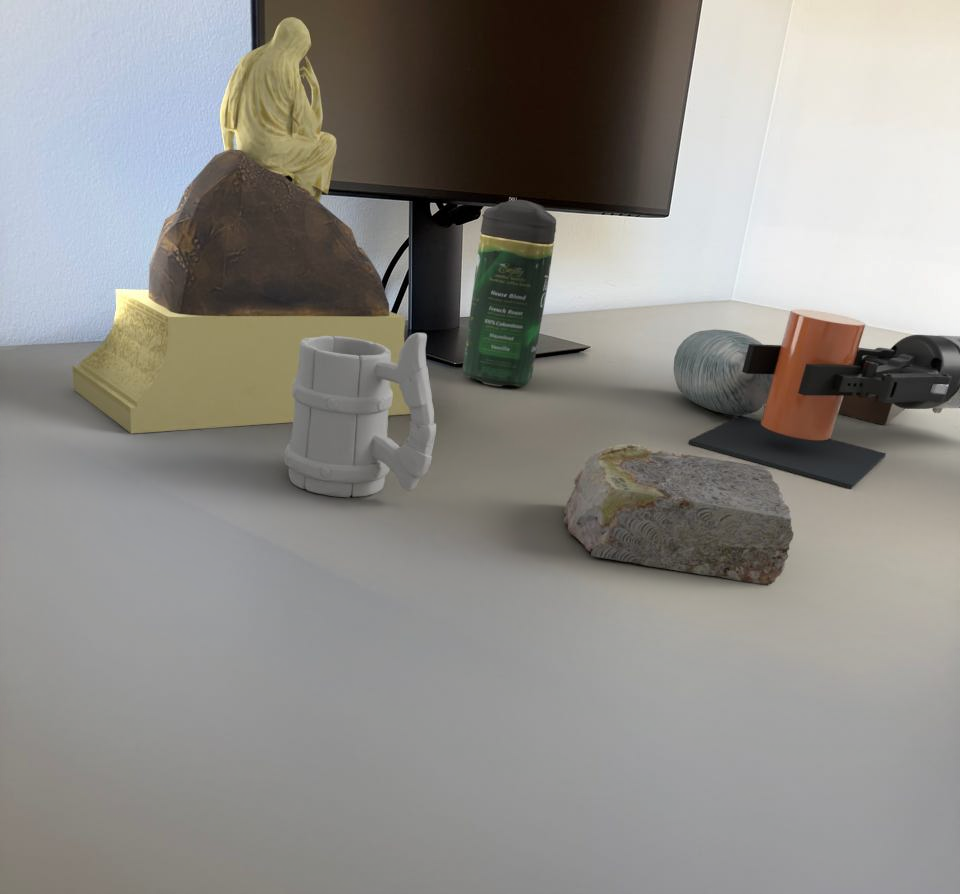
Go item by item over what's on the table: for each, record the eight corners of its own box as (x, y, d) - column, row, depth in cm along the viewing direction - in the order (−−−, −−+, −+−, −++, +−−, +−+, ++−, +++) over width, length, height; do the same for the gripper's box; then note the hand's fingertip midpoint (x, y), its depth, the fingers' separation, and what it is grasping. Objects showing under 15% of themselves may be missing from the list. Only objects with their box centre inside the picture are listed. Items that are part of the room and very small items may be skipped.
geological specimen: (813, 519, 63) (587, 475, 62) (782, 601, 66) (565, 561, 65) (776, 464, 72) (578, 426, 71) (750, 539, 75) (560, 502, 74)
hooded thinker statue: (351, 378, 101) (375, 42, 87) (423, 412, 92) (462, 47, 79) (73, 389, 84) (49, -25, 70) (131, 433, 75) (115, -28, 62)
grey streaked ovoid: (669, 404, 118) (642, 342, 110) (733, 355, 117) (710, 290, 110) (736, 456, 108) (711, 391, 101) (805, 403, 108) (785, 335, 100)
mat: (884, 456, 101) (886, 453, 101) (851, 489, 89) (852, 484, 89) (738, 418, 108) (739, 415, 108) (688, 443, 95) (689, 439, 95)
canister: (838, 433, 99) (872, 321, 94) (821, 445, 93) (856, 327, 88) (771, 416, 102) (801, 307, 97) (751, 426, 96) (782, 311, 91)
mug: (328, 457, 77) (338, 299, 71) (453, 499, 72) (475, 334, 66) (261, 477, 71) (267, 306, 65) (393, 524, 66) (411, 344, 60)
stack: (905, 408, 126) (921, 361, 124) (885, 425, 115) (901, 374, 113) (800, 383, 132) (813, 338, 129) (771, 397, 121) (784, 348, 118)
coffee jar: (528, 393, 105) (557, 208, 97) (456, 381, 106) (479, 196, 97) (535, 375, 114) (562, 204, 105) (469, 364, 114) (490, 192, 106)
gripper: (1001, 435, 97) (842, 439, 87) (850, 383, 112) (699, 380, 102) (1030, 360, 94) (869, 354, 83) (871, 316, 109) (716, 306, 98)
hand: (775, 369), depth 92 cm, fingers closed on canister, 7 cm apart
